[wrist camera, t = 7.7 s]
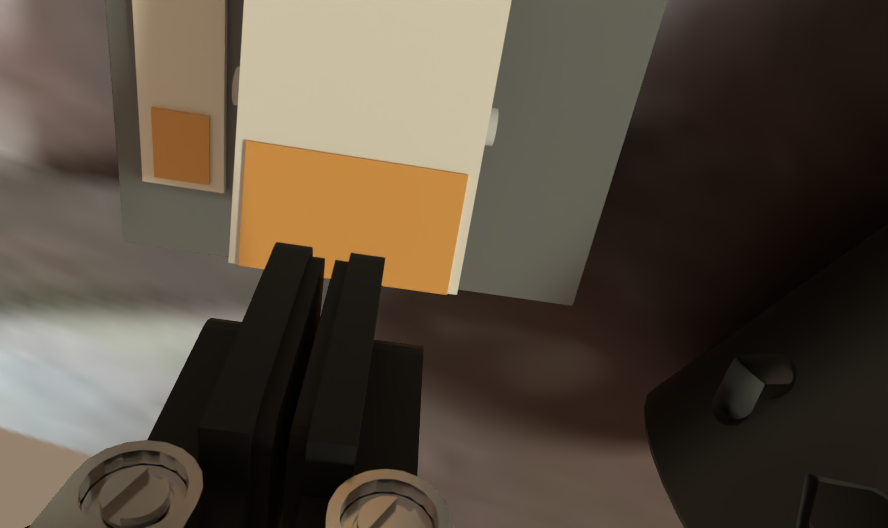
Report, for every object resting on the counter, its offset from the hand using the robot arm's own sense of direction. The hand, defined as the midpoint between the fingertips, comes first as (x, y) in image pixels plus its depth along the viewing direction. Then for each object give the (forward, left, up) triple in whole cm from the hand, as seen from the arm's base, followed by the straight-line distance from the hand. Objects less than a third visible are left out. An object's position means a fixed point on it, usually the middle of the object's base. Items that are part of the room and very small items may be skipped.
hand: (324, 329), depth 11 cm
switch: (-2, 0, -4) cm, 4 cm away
